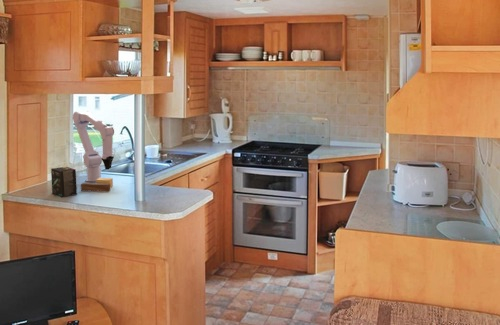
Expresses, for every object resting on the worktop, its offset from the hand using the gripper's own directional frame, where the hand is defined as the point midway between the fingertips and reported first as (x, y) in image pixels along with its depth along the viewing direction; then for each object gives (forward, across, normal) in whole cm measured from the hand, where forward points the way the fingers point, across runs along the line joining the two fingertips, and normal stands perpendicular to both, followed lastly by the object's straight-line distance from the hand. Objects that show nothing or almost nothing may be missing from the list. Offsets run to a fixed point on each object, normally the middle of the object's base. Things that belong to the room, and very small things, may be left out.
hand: (108, 168), depth 305 cm
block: (+10, -8, 0) cm, 12 cm away
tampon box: (+10, -28, +16) cm, 34 cm away
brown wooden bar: (+9, -18, +2) cm, 20 cm away
